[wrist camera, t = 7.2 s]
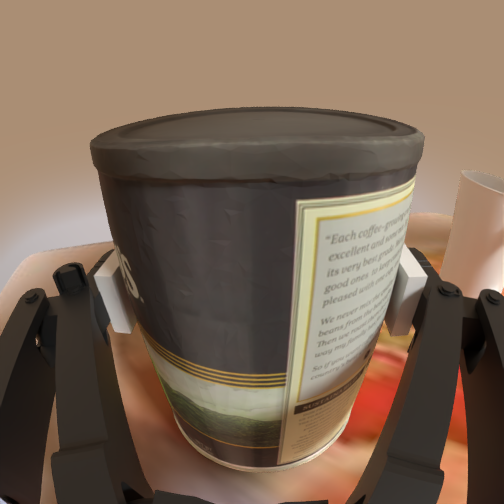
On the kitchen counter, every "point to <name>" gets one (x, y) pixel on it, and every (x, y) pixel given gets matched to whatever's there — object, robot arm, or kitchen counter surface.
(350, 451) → the kitchen counter surface
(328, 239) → the coffee can
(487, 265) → the mug
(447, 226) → the kitchen counter surface
